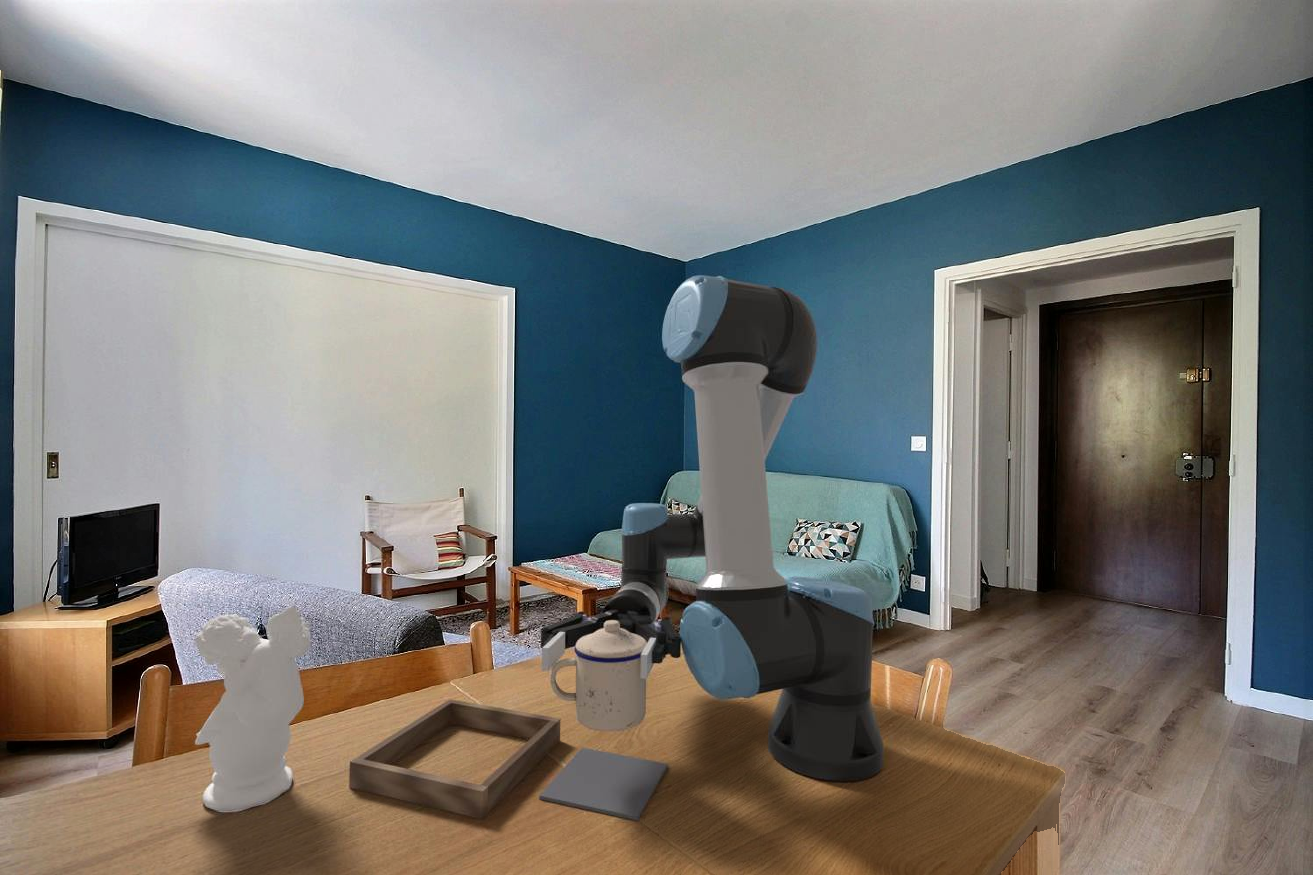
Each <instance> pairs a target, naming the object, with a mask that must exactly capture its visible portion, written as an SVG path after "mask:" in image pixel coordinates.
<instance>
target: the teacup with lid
mask: <svg viewBox="0 0 1313 875" xmlns="http://www.w3.org/2000/svg"><path fill="white" fill-rule="evenodd" d="M646 644H647V642H646V640H645V639H644V638H643V637H641V636H639V635H636V634H633V633H630V632H628V631H627V630H625V629H622V628H620V623H619V622H618V621H616V620H608V621H606V622H605V623H604V628H602V629H599V630H597V631H596V632H594V633H592V634H588V635H586V636H583V637H582V638H580V639H579V640H578V641H577V643H576V646H574V652H575V654H576V655H575V656H576V657H571V658H567V657H566V658H563V659H559V660H558V661H557V662H556V663H555V664H554V665H553V666H552V667H551V669H550V673H549V681H550V682H549V683H550V686H551V689H552V691H553V692H554V694H555V695H556V696H557V697H558V698H559V699H561V700H563V701H568V702H575V718H576V720H577V722H578V723H579V724H580V725H582V727H585V728H587V729H590V730H594V731H598V732H620V731H625V730H630V729H632V728H635V727H636V726H638V725H640V724H641V723H642V722H643V721H644V720H645V718H646V714H647V711H646V710H647V679H644V678H640V675H641V653H642V652H643V650H644V648H645V646H646ZM572 666H573V667H575V692H567V691H564V690H562V688H560V686H559V685H558V683H557V680H556V675H557V673H558V672H559V670H561V669H562V668H565V667H572Z"/></svg>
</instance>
